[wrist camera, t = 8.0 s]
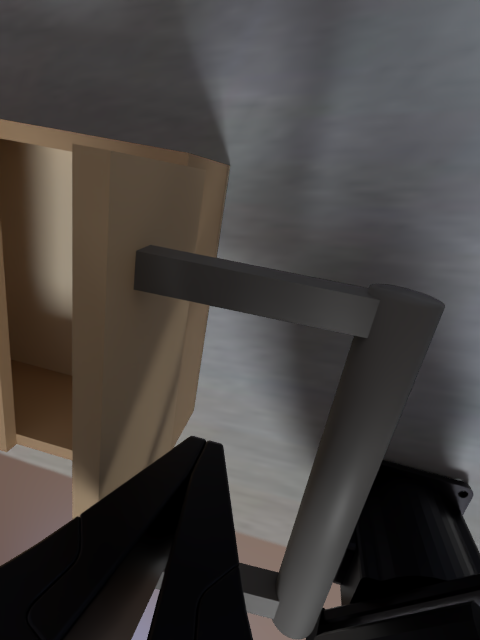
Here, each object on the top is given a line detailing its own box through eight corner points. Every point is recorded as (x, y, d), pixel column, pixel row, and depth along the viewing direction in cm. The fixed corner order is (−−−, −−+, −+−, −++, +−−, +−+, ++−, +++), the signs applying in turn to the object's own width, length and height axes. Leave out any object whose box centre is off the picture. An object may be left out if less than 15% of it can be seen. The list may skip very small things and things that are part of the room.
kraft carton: (230, 165, 17) (182, 150, 11) (193, 410, 22) (147, 494, 16) (-31, 118, 19) (-200, 82, 12) (-8, 356, 24) (-121, 413, 18)
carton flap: (187, 166, 11) (399, 206, 11) (153, 481, 16) (299, 517, 16) (72, 143, 5) (532, 228, 5) (72, 655, 10) (305, 719, 10)
